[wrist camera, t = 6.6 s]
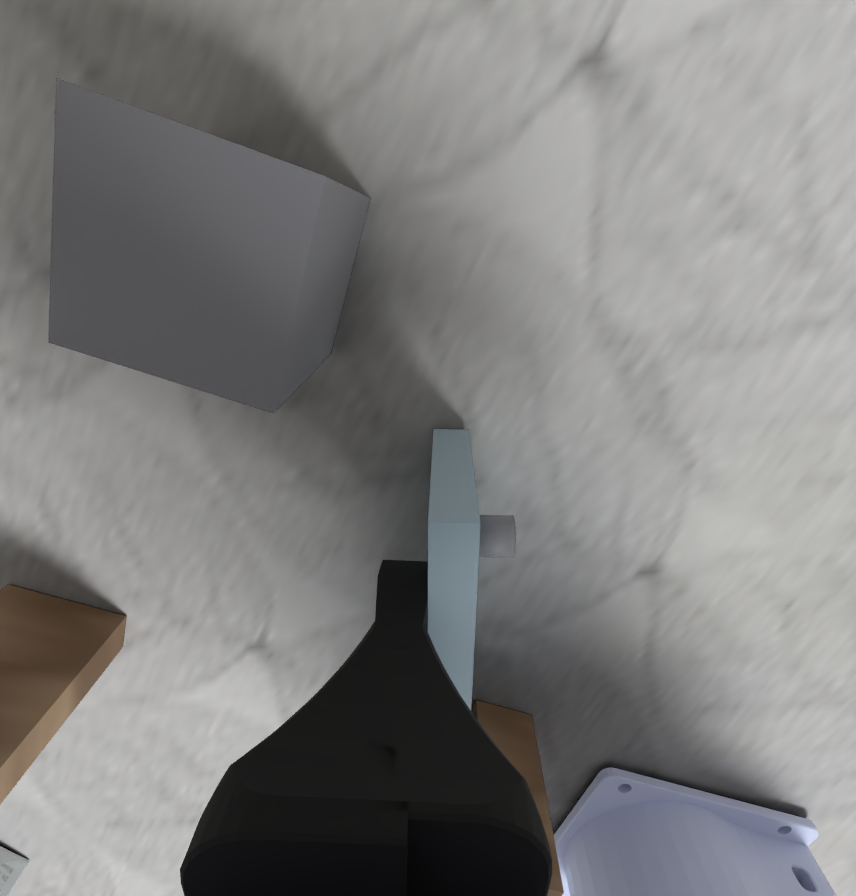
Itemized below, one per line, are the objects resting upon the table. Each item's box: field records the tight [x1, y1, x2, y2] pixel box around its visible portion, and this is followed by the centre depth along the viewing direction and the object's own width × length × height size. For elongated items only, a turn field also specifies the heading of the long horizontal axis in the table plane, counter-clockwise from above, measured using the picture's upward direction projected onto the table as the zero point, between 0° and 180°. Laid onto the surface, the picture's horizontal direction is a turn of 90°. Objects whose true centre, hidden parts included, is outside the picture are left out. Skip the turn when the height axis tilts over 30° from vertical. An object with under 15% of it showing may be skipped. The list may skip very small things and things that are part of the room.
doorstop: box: [49, 78, 371, 413], centre depth 10 cm, size 4×4×5 cm
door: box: [428, 429, 516, 710], centre depth 14 cm, size 12×2×5 cm, turn 0°
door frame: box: [0, 584, 564, 896], centre depth 16 cm, size 19×2×6 cm, turn 71°
